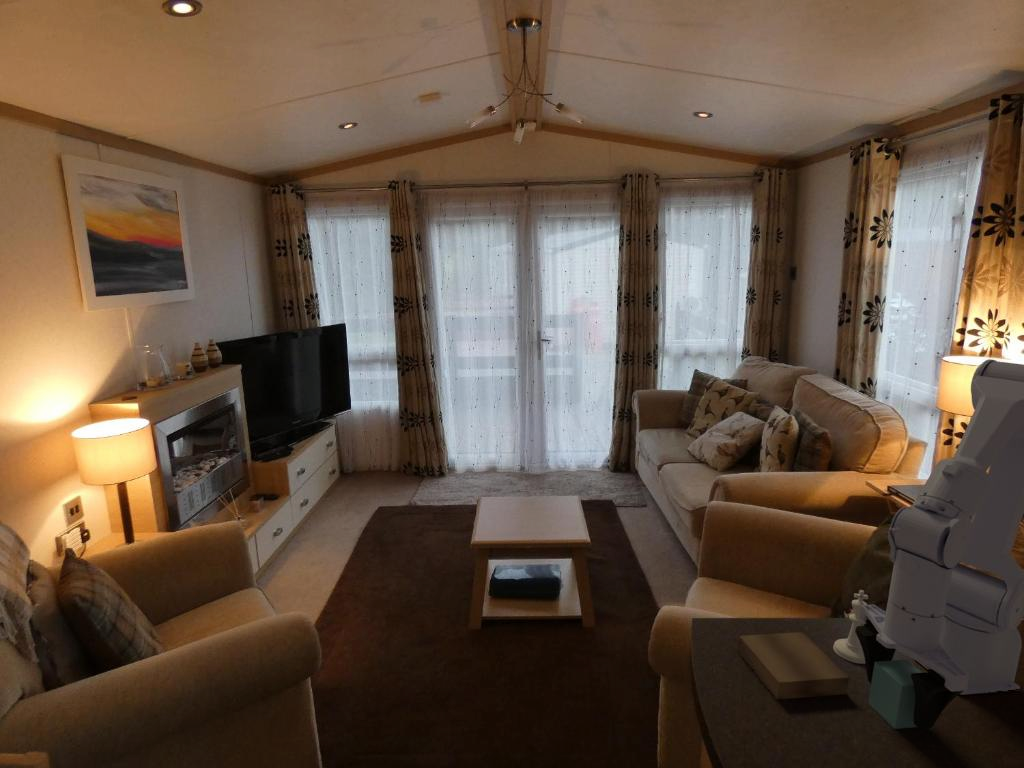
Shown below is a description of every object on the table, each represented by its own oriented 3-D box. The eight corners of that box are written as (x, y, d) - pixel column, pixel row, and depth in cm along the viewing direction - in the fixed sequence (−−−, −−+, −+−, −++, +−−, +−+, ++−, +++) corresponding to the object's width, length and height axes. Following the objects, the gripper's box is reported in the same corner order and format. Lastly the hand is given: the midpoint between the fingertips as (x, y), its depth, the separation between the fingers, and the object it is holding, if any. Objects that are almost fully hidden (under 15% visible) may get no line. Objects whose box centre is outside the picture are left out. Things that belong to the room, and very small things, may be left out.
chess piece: (877, 666, 84) (887, 602, 82) (839, 660, 85) (849, 597, 83) (864, 645, 89) (873, 584, 87) (828, 640, 90) (837, 580, 88)
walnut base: (800, 647, 88) (802, 632, 88) (846, 694, 78) (849, 677, 78) (737, 651, 87) (739, 635, 86) (776, 699, 77) (779, 682, 76)
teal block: (898, 700, 77) (906, 659, 76) (927, 726, 73) (935, 683, 72) (868, 703, 77) (874, 661, 76) (894, 729, 72) (902, 685, 71)
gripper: (845, 575, 79) (831, 667, 81) (936, 642, 64) (917, 750, 67) (892, 573, 80) (878, 663, 82) (993, 639, 66) (971, 745, 68)
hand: (898, 702), depth 75 cm, fingers open, 7 cm apart
